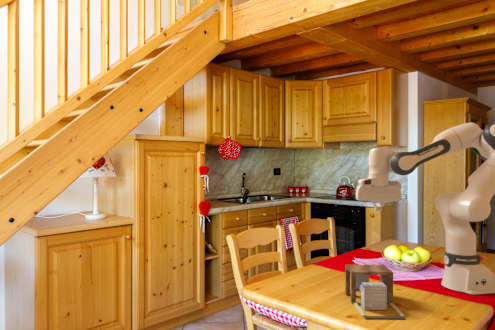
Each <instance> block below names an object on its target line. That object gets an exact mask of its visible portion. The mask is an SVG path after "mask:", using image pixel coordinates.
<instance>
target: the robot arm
mask: <svg viewBox="0 0 495 330" xmlns="http://www.w3.org/2000/svg"><path fill="white" fill-rule="evenodd" d="M469 148H472V151H473V153H475V154H477V156H478V157H479V158H480V159H481V160H483V161H484V162H483V163H482V164H481V165H479V167H477V169H476V170H475V171H473V173H471V175H470V176H468V179H467V182H468V186H467V188H465V190H463V191H462V192H460V191H444V192H441V193H439V194H438V195H437V196H436V198H435V200H434V206H435V208H436V211H438V213H439V215H440V217H441V221H442V223H443V228H444V234H445V251H444V253H443V254H444V256H443V262H444V271H443V276H442V280H441V283H440V284H441V286H443V288H447V289H449V290H452V291H455V292H461V293H465V294H469V295H485V294H495V273H494V272H493V271H492V270H490V269H489V268H488V267H487V266H485V265H484V264H483V263H482V262H486V261H487V257H486V256H484V255H479V254H478V253H477V233H476V232H475V231H474V230H473V228H472V226H471V224H470V222H473V223H474V222H483V221H485V220H487V218H489V216H490V215H491V203H490V202H491V200H492V198H493V196H494V195H495V121H493V122H491V123H488V125H486V126H485V128H484V129H482V128H481V127H480V126H479V125H478V124H477V123H475V122H466V123H462V124H458V125H455V126H452V127H449V128H447V129H445V130H443V131H441V132H440V133H438V134H436V135H435V136H434V138H433V140H432V142H431V143H429V144H427V145H425V146H422V147H421V148H417V149H415V150H413V151H401V152H399V151H396V150H395V149H391V148H390V147H389V146H387V145H378V146H374V147H372V148H370V150H369V153H368V168H369V169H368V176H366V177H364V178H361V179H358V180H357V186H356V190H355V199H356V200H357V201H358V202H371V204H372V205H373V207H374V211H375V212H382V211H383V207H384V206H385V204H386V203H385V202H401V200H402V198H403V197H402V190H401V189H402V184H401V182H399V181H398V180H390V177H389V174H390V173H393V174H397V175H399V176H408V175H410V174H411V173H413V172H414V171H415V170H416V169H417V168H418V167H419V166H420V165H422V164H426V163H427V162H428V161H431V160H433V159H437V158H438V157H442V156H443V157H446V156H449V155H454V154H456V153H459V152H462V151H464V150H467V149H469ZM377 202H379V203H380V205H379V206H378V205H377ZM481 261H482V262H481Z"/></svg>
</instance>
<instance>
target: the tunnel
mask: <svg viewBox="0 0 495 330" xmlns="http://www.w3.org/2000/svg"><path fill="white" fill-rule="evenodd" d="M344 267H345V270H344V271H345V273H344V274H345V275H344V276H345V277H344V282H345V284H344V285H345V286H344V287H345V289H344V290H345V293H344V294H345V296H350V303H351V304H354V303H357V289H356V275H369V276H373V275H374V276H379V282H383V283H384V284H385V285H386V286H387V303H388V304H389V305H390V303H393V304H394V271H392V270H391V269H390V268H389V267H387V266H386V265H385V264H345V266H344Z"/></svg>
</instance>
